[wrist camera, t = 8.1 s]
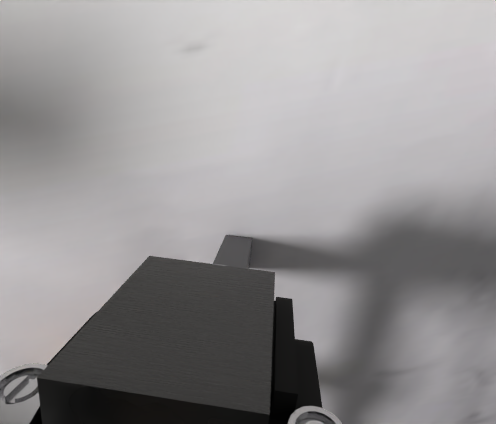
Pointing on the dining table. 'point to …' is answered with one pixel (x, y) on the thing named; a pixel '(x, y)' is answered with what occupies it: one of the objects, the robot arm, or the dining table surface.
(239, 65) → the dining table surface
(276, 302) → the robot arm
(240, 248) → the rod bearing post
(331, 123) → the dining table surface
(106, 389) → the rod
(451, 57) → the dining table surface
